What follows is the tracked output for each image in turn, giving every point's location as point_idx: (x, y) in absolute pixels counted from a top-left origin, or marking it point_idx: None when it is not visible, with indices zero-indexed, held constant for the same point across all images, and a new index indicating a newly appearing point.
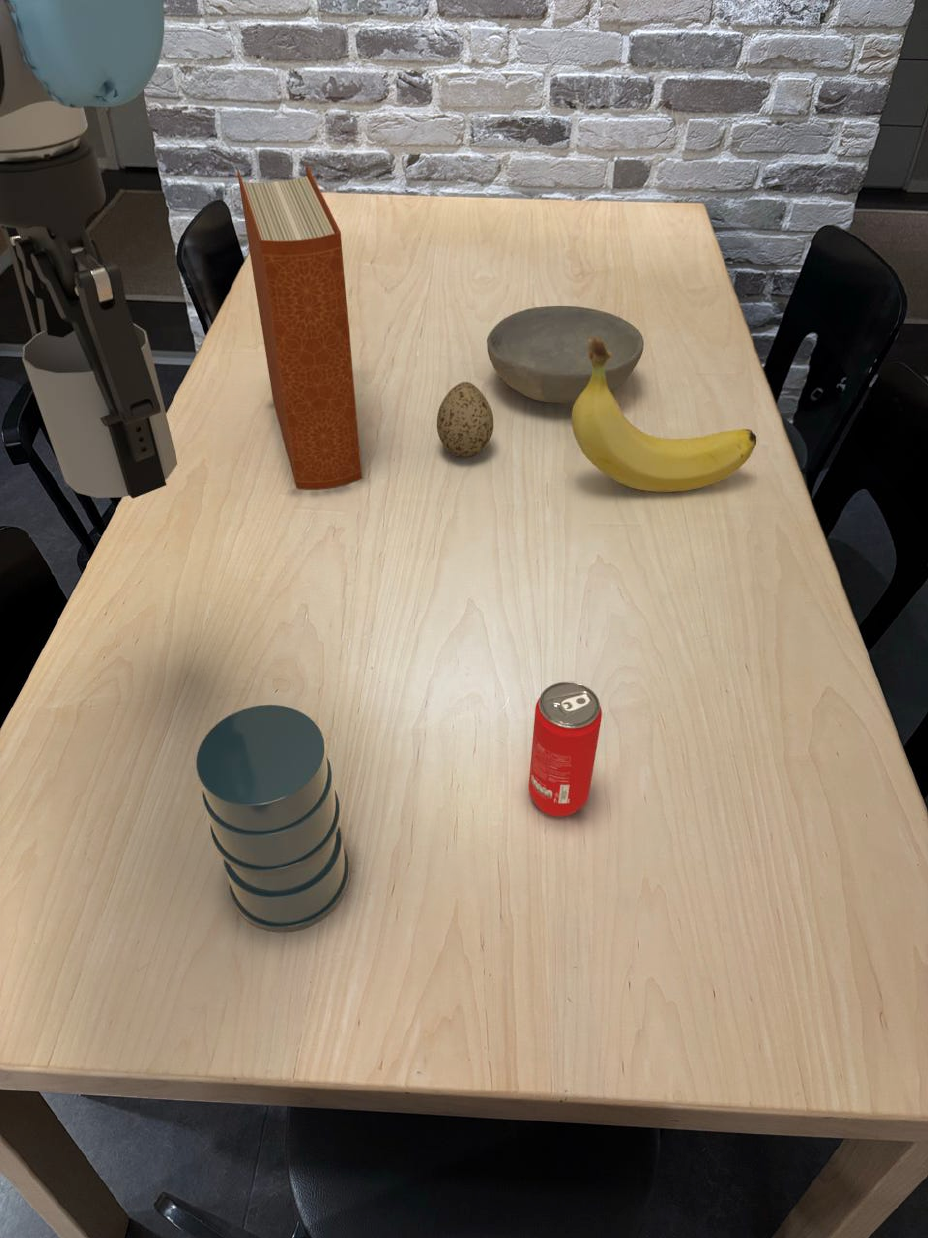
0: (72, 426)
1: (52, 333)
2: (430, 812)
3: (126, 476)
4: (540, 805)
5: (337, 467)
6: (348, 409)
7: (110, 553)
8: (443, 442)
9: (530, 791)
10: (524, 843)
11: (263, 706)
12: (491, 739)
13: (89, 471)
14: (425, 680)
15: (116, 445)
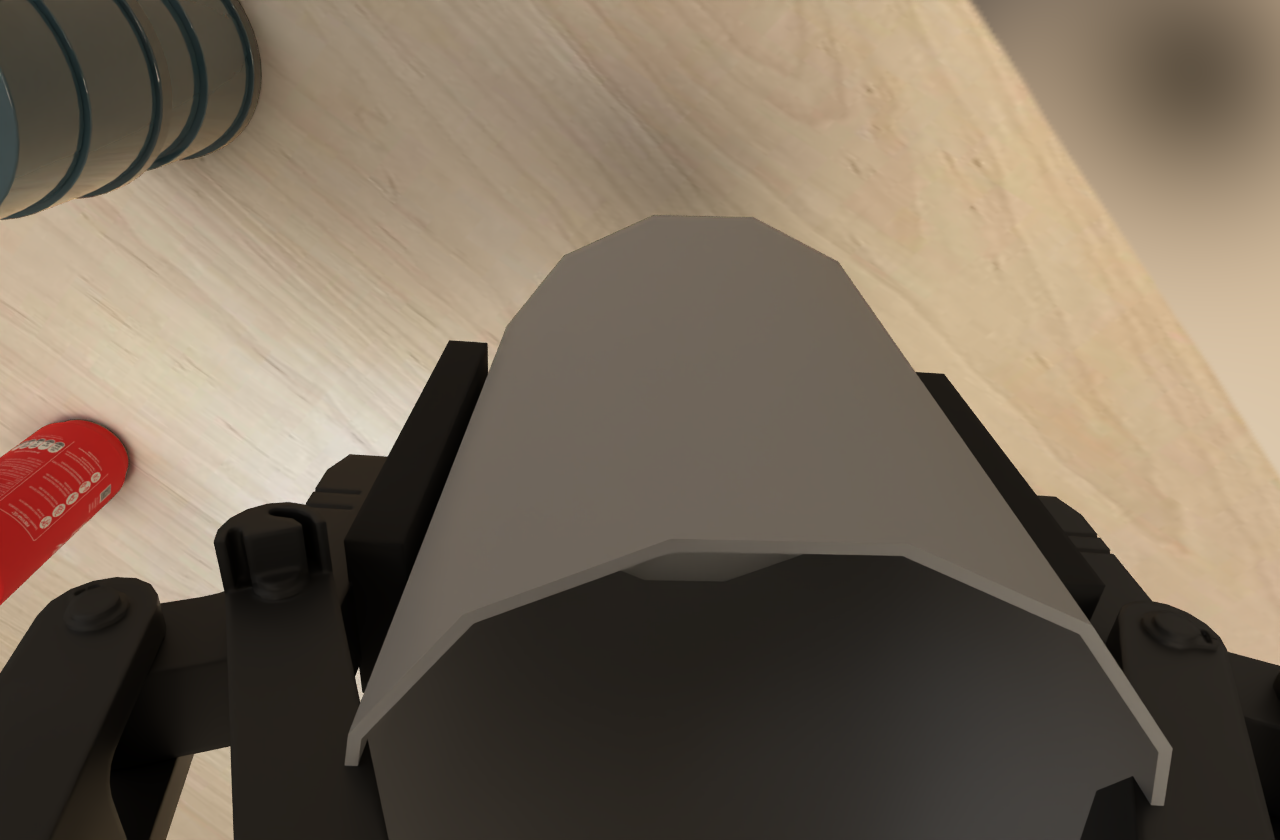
0: (534, 390)
1: (1123, 798)
2: (158, 304)
3: (427, 384)
4: (56, 424)
5: None
6: None
7: (1126, 269)
8: None
9: (83, 431)
10: (36, 364)
11: (6, 182)
12: (235, 458)
13: (552, 298)
14: None
15: (394, 457)
